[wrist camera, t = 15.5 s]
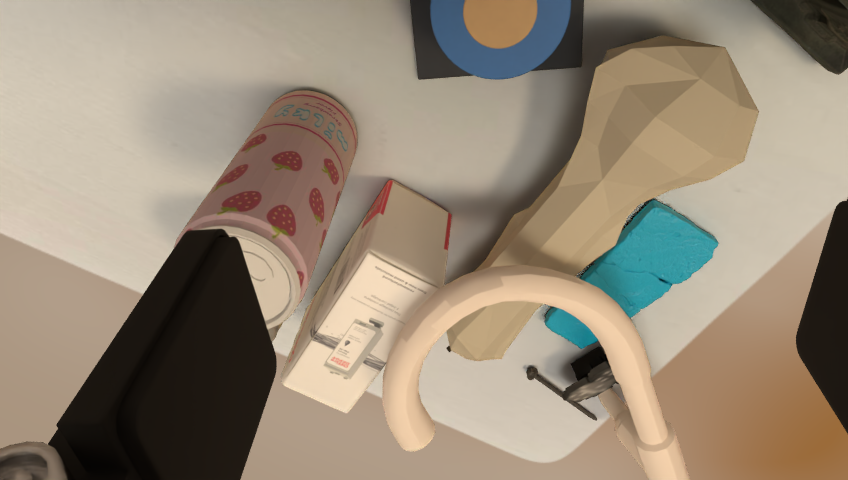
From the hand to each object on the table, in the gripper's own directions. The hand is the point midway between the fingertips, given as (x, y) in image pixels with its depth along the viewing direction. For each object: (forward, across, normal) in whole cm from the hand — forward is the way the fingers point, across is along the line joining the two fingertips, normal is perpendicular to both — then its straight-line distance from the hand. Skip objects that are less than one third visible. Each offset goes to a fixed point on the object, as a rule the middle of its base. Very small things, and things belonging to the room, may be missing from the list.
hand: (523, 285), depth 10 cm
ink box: (+22, +4, +13) cm, 26 cm away
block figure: (+25, -4, +30) cm, 39 cm away
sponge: (+25, -11, +22) cm, 36 cm away
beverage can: (+26, +11, +8) cm, 30 cm away
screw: (+25, -5, +31) cm, 40 cm away
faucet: (+20, -5, +36) cm, 41 cm away
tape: (+26, -1, +1) cm, 26 cm away
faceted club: (+26, -3, +14) cm, 30 cm away
